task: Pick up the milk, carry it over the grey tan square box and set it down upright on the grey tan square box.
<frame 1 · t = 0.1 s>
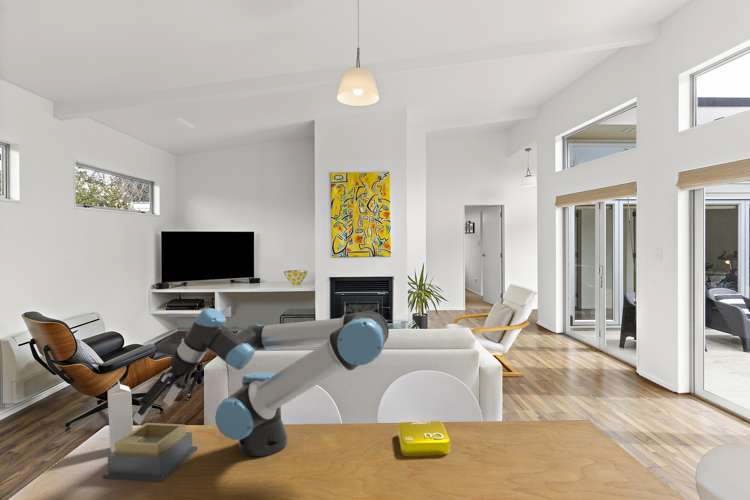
hand: (152, 411, 128), 15 cm above the table, tool tilted 35°, fingers open, 13 cm apart
element tile: (423, 445, 136), on the table
milk: (121, 449, 137), on the table
grey tan square box: (152, 463, 128), on the table
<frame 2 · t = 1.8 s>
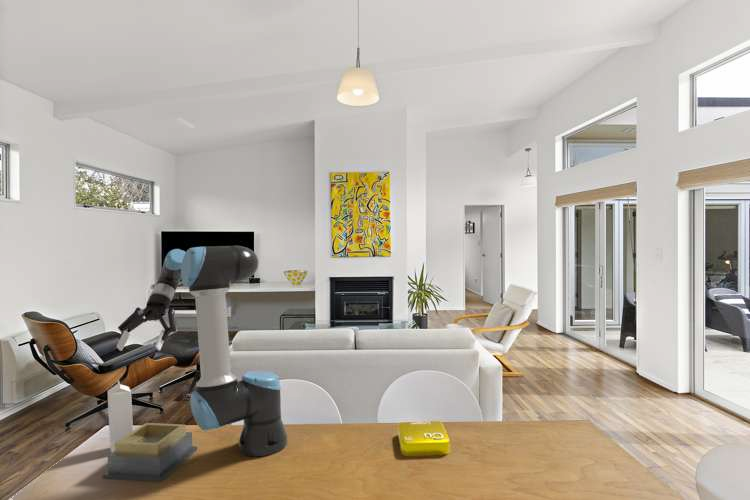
hand: (138, 348, 147), 30 cm above the table, tool tilted 45°, fingers open, 13 cm apart
nothing on the table moved.
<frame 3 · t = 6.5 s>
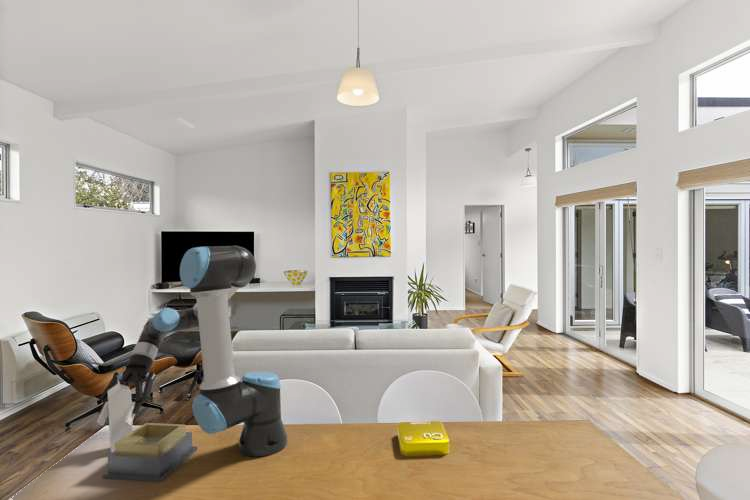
hand: (113, 423, 134), 10 cm above the table, tool tilted 45°, fingers closed on milk, 8 cm apart
milk: (121, 449, 137), on the table, touching gripper
everything else where it was.
when the fingers open (17 cm above the table, at t = 14.0 s): milk drops 1 cm, resting on grey tan square box.
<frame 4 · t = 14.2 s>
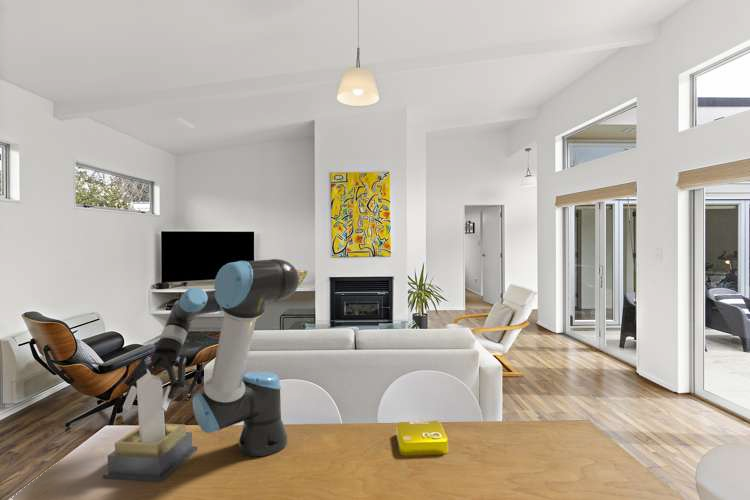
hand: (144, 409, 125), 18 cm above the table, tool tilted 45°, fingers open, 10 cm apart
milk: (152, 443, 128), point 6 cm above the table, touching grey tan square box
everything else where it was.
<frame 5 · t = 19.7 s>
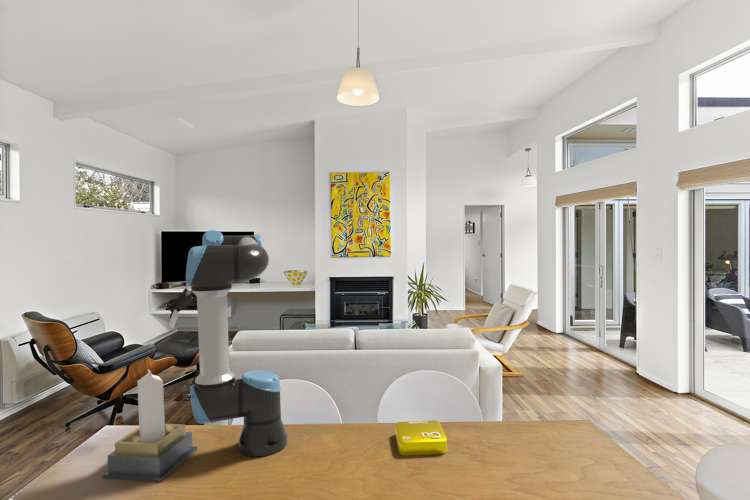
hand: (189, 326, 153), 36 cm above the table, tool tilted 45°, fingers open, 13 cm apart
nothing on the table moved.
at the end: milk 0.2 cm off-centre on the grey tan square box, point 5.8 cm above the grey tan square box's base; milk tilted 0°; the gripper is holding nothing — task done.
